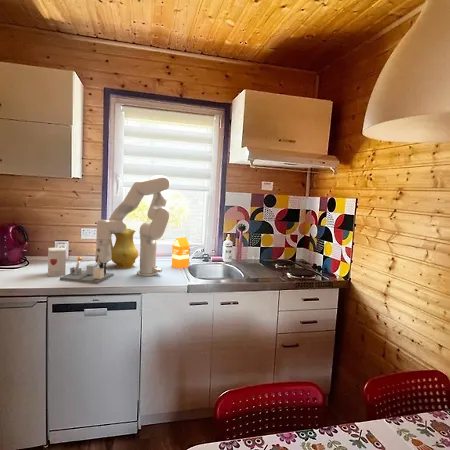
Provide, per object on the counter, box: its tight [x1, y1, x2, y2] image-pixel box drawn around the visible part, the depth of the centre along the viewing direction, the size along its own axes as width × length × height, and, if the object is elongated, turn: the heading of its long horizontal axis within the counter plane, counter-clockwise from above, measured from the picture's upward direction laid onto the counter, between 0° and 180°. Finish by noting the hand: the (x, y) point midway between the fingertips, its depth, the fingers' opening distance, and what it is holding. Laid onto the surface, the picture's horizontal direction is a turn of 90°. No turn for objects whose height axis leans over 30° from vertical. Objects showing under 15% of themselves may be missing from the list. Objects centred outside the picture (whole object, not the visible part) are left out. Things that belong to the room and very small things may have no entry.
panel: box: [59, 266, 115, 285], centre depth 193 cm, size 22×18×5 cm
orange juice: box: [171, 236, 190, 269], centre depth 232 cm, size 8×9×20 cm
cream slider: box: [93, 267, 104, 279], centre depth 188 cm, size 4×4×5 cm
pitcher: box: [111, 228, 139, 269], centre depth 225 cm, size 17×19×25 cm
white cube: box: [85, 263, 98, 275], centre depth 196 cm, size 4×4×5 cm
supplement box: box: [47, 247, 67, 277], centre depth 197 cm, size 9×9×15 cm
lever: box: [73, 256, 83, 273], centre depth 196 cm, size 2×2×9 cm
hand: (102, 274), depth 193 cm, fingers closed
